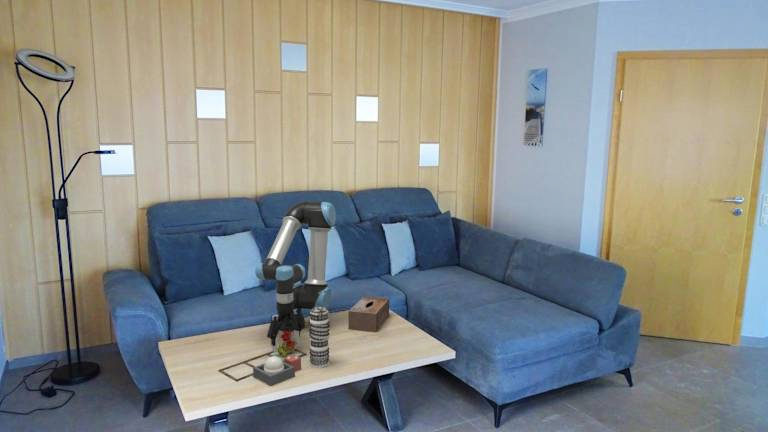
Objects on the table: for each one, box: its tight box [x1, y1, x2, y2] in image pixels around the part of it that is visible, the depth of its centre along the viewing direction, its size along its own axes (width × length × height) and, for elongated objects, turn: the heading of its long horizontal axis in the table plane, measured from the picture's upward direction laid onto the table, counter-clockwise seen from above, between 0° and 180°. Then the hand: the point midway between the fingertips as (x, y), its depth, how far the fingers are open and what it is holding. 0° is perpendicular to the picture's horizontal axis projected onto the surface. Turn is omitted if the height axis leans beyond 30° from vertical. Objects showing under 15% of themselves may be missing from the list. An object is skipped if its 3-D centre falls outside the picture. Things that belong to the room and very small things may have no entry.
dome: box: [264, 356, 284, 375], centre depth 226 cm, size 8×8×8 cm
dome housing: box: [252, 355, 302, 387], centre depth 228 cm, size 12×18×6 cm, turn 137°
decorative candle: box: [307, 306, 331, 369], centre depth 237 cm, size 9×9×25 cm
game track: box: [218, 348, 308, 382], centre depth 239 cm, size 14×36×1 cm, turn 137°
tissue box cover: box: [347, 295, 390, 333], centre depth 289 cm, size 26×14×10 cm, turn 165°
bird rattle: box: [278, 331, 297, 356], centre depth 247 cm, size 6×11×9 cm
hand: (286, 348), depth 247 cm, fingers open, 11 cm apart
